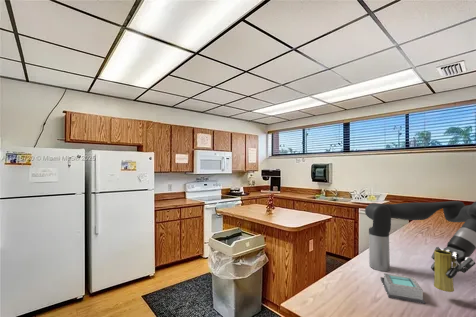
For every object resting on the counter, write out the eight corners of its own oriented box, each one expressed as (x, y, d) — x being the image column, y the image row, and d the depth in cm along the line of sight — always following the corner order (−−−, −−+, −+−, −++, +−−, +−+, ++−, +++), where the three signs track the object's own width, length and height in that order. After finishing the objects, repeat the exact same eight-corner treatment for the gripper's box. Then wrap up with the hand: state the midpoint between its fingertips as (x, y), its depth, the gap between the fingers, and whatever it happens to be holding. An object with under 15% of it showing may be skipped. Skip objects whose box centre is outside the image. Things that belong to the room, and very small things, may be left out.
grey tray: (380, 279, 111) (380, 268, 111) (411, 284, 106) (410, 272, 107) (388, 297, 95) (388, 284, 95) (425, 303, 91) (424, 290, 91)
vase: (444, 284, 97) (443, 249, 98) (458, 292, 91) (457, 254, 92) (430, 284, 97) (428, 249, 98) (443, 292, 91) (442, 254, 91)
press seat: (389, 280, 103) (389, 278, 103) (409, 283, 101) (409, 281, 101) (393, 288, 97) (393, 285, 97) (415, 291, 94) (415, 289, 94)
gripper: (491, 254, 90) (466, 288, 87) (451, 242, 104) (428, 272, 101) (479, 240, 89) (453, 275, 87) (441, 230, 103) (417, 260, 101)
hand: (440, 273), depth 94 cm, fingers closed on vase, 5 cm apart
